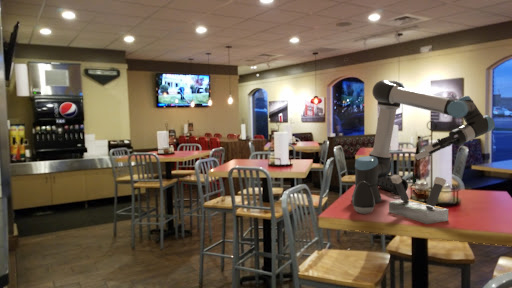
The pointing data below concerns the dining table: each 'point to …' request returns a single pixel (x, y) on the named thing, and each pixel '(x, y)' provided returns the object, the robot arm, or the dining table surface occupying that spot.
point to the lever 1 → (400, 187)
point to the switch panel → (418, 211)
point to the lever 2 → (435, 192)
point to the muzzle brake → (390, 184)
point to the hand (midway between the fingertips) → (420, 154)
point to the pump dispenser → (364, 198)
